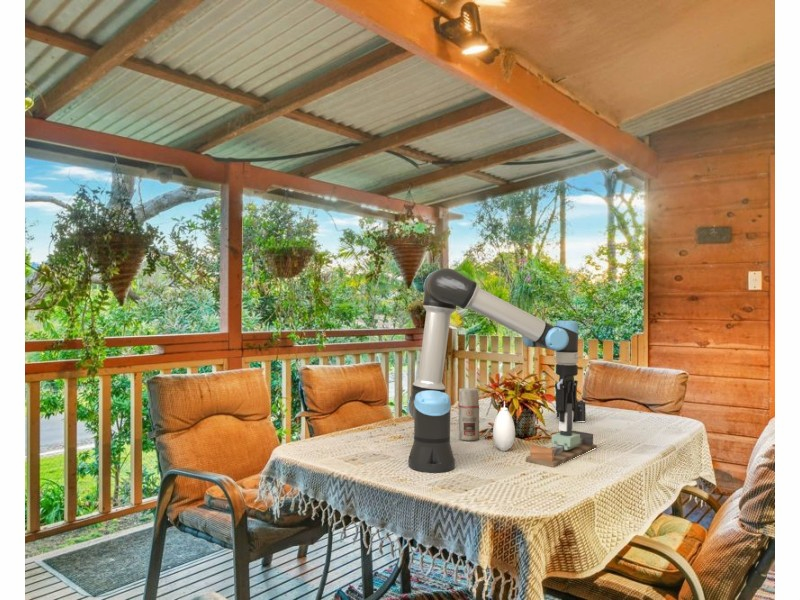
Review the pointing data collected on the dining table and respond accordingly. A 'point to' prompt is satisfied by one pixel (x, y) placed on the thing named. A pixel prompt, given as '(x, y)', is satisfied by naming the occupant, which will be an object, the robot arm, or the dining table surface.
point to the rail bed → (563, 456)
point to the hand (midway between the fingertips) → (566, 429)
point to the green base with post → (566, 433)
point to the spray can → (468, 414)
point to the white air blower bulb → (504, 430)
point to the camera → (578, 411)
